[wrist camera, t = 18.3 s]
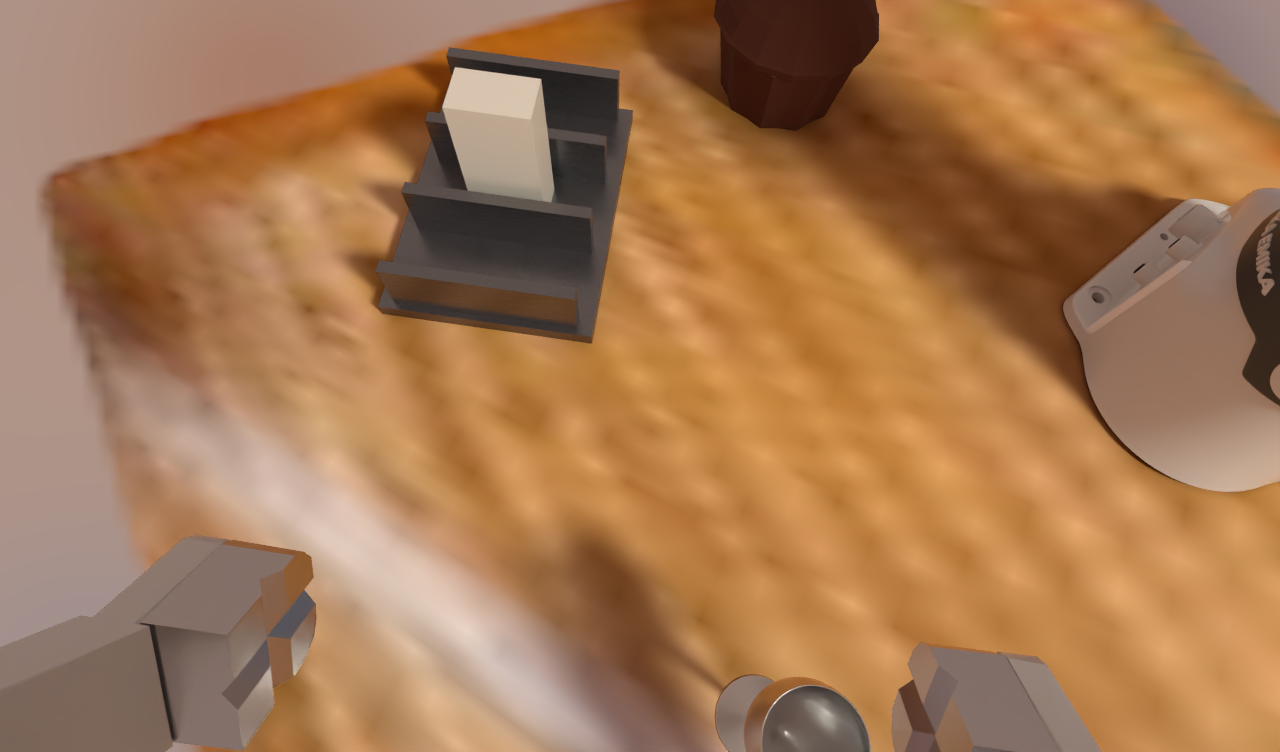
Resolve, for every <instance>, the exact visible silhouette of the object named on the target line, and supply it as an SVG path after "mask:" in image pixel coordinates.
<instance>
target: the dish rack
mask: <svg viewBox="0 0 1280 752" xmlns="http://www.w3.org/2000/svg"><path fill="white" fill-rule="evenodd" d="M446 56H447V60H448V64H449V67H450V71H451V75H453V72H454V69H455V67H457V68H464V69H472V70H479V71H486V72H494V73H501V74H508V75H516V76H523V77H530V78H537V79H541V82H542V90H543V98H544V107H545V115H546V124H547V132H548V140H549V149H550V157H551V165H552V174H553V182H554V192H553V197H552V201H551V202H544V201H537V200H530V199H523V198H516V197H509V196H501V195H494V194H487V193H480V192H473V191H468V190H467V187H466V183H465V180H464V177H463V174H462V170H461V167H460V164H459V160H458V157H457V154H456V151H455V147H454V144H453V141H452V138H451V134H450V131H449V128H448V125H447V121H446V118H445V115H444V112H443V108H441V111H440V113H435V112H428V113H427V116H426V119H425V122H426V125H427V128H428V131H429V134H430V137H431V143H430V146H429V149H428V152H427V155H426V158H425V161H424V164H423V168H422V171H421V174H420V177H419V180H418V183H417V184H415V183H408V182H405V183H404V186H403V189H402V195H403V197H404V199H405V201H406V203H407V206H408V208H409V211H408V215H407V218H406V221H405V224H404V227H403V230H402V233H401V236H400V240H399V243H398V246H397V249H396V252H395V255H394V258H393V261H392V262H389V261H382V260H379V262H378V265H377V268H376V273H377V275H378V276H379V278H380V280H381V281H382V283H383V285H384V290H383V293H382V296H381V299H380V302H379V305H378V307H379V309H380V310H381V312H382V313H383V314H389V315H396V316H403V317H410V318H417V319H424V320H431V321H438V322H445V323H452V324H459V325H466V326H473V327H480V328H487V329H494V330H501V331H508V332H515V333H522V334H529V335H536V336H543V337H550V338H557V339H565V340H572V341H579V342H586V343H592V340H593V335H594V329H595V324H596V318H597V312H598V307H599V301H600V296H601V290H602V285H603V279H604V274H605V268H606V263H607V257H608V252H609V246H610V241H611V235H612V230H613V224H614V219H615V213H616V208H617V202H618V197H619V191H620V186H621V180H622V175H623V169H624V164H625V158H626V153H627V147H628V142H629V136H630V131H631V125H632V118H633V110H626V109H619V71H618V70H611V69H604V68H596V67H589V66H582V65H574V64H567V63H560V62H552V61H545V60H538V59H530V58H523V57H516V56H508V55H501V54H494V53H486V52H479V51H472V50H464V49H457V48H450V47H449V49H448V52H447V55H446ZM448 88H449V86H448ZM447 91H448V89H447ZM446 94H447V93H446ZM445 97H446V96H445ZM444 100H445V99H444ZM443 103H444V102H443ZM442 107H443V105H442Z"/></svg>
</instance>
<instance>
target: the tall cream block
mask: <svg viewBox="0 0 1280 752" xmlns="http://www.w3.org/2000/svg"><path fill="white" fill-rule="evenodd" d="M442 108H443V112H444V115H445V118H446V121H447V125H448V128H449V131H450V134H451V138H452V141H453V144H454V147H455V151H456V154H457V157H458V160H459V164H460V167H461V170H462V174H463V177H464V180H465V183H466V187H467V190H468V191H473V192H480V193H487V194H494V195H501V196H509V197H516V198H523V199H530V200H537V201H544V202H551V201H552V197H553V192H554V182H553V174H552V165H551V157H550V149H549V140H548V132H547V124H546V115H545V107H544V98H543V90H542V82H541V79H537V78H530V77H523V76H516V75H508V74H501V73H494V72H486V71H479V70H472V69H464V68H457V67H455V69H454V72H453V75H452V78H451V81H450V85H449V88H448V91H447V94H446V97H445V100H444V103H443V107H442Z"/></svg>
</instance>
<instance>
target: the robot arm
mask: <svg viewBox="0 0 1280 752" xmlns="http://www.w3.org/2000/svg"><path fill="white" fill-rule="evenodd" d="M1092 298H1094V299H1095V300H1096V301H1097V303H1096V302H1095V301H1094V300H1093V299H1092ZM1063 312H1064V315H1065V318H1066V320H1067V322H1068V324H1069V326H1070V328H1071V329H1072V331H1073V333H1074V335H1075V336H1076V338H1077V340H1078V341H1079V343H1080V346H1081V350H1082V354H1083V361H1084V369H1085V375H1086V380H1087V383H1088V387H1089V389H1090V392H1091V395H1092V397H1093V400H1094V402H1095V404H1096V406H1097V408H1098V410H1099V412H1100V413H1101V415H1102V416H1103V418H1104V420H1105V421H1106V422H1107V424H1108V425H1109V427H1110V428H1111V429H1112V431H1113V432H1114V433H1115V434H1116V435H1117V437H1118V438H1119V439H1120V440H1121V441H1122V442H1123V443H1124V444H1125V445H1126V446H1127V447H1128V448H1129V449H1130V450H1131V451H1132V452H1134V453H1135V454H1136V455H1137V456H1138V457H1140V458H1141V459H1142V460H1144V461H1145V462H1146V463H1148V464H1149V465H1151V466H1152V467H1154V468H1155V469H1157V470H1158V471H1160V472H1162V473H1164V474H1166V475H1168V476H1169V477H1171V478H1174V479H1176V480H1178V481H1180V482H1183V483H1186V484H1188V485H1192V486H1195V487H1198V488H1203V489H1207V490H1213V491H1222V492H1236V491H1245V490H1251V489H1255V488H1258V487H1261V486H1264V485H1268V484H1271V483H1275V482H1280V189H1277V188H1263V189H1257V190H1254V191H1253V192H1251V193H1249V194H1248V195H1246V196H1245V197H1243V198H1242V199H1240V200H1239V201H1237V202H1236V203H1235V204H1233V205H1232V206H1227V205H1224V204H1221V203H1217V202H1213V201H1208V200H1202V199H1188V200H1186V201H1184V202H1183V203H1181V204H1179V205H1178V206H1176V207H1175V208H1173V209H1172V210H1171V211H1170V212H1169V213H1167V214H1166V215H1165V216H1164V217H1163V218H1161V219H1160V220H1159V221H1158V222H1157V223H1156V224H1154V225H1153V226H1152V227H1151V228H1150V229H1148V230H1147V231H1146V232H1145V233H1144V234H1143V235H1141V236H1140V237H1139V238H1138V239H1137V240H1136V241H1134V242H1133V243H1132V244H1131V245H1130V246H1128V247H1127V248H1126V249H1125V250H1124V251H1123V252H1121V253H1120V254H1119V255H1118V256H1117V257H1115V258H1114V259H1113V260H1112V261H1111V262H1110V263H1108V264H1107V265H1106V266H1105V267H1104V268H1103V269H1101V270H1100V271H1099V272H1098V273H1097V274H1095V275H1094V276H1093V277H1092V278H1091V279H1090V280H1088V281H1087V282H1086V283H1085V284H1084V285H1082V286H1081V287H1080V288H1079V289H1078V290H1077V291H1075V292H1074V293H1073V294H1072V295H1071V296H1070V297H1068V298H1067V299H1066V301H1065V302H1064V305H1063ZM312 579H313V568H312V560H311V557H310V556H309V555H307V554H306V553H305V552H301V551H296V550H290V549H284V548H278V547H272V546H266V545H260V544H254V543H249V542H243V541H237V540H227V539H221V538H215V537H209V536H203V535H197V534H196V535H193V536H189V537H186V538H184V539H182V540H181V541H180V542H179V543H178V544H176V545H175V546H174V547H173V548H172V549H171V550H170V551H168V552H167V553H166V554H165V555H164V556H163V557H162V558H160V559H159V560H158V561H157V562H156V563H155V564H154V565H152V566H151V567H150V568H149V569H148V570H147V571H146V572H144V573H143V574H142V575H141V576H140V577H139V578H138V579H136V580H135V581H134V582H133V583H132V584H131V585H130V586H128V587H127V588H126V589H125V590H124V591H123V592H122V593H120V594H119V595H118V596H117V597H116V598H115V599H114V600H112V601H111V602H110V603H109V604H108V605H107V606H106V607H104V608H103V609H102V610H101V611H100V612H99V613H97V615H95V616H94V617H86V616H78V617H76V618H73V619H71V620H68V621H66V622H63V623H61V624H58V625H56V626H53V627H51V628H48V629H45V630H43V631H40V632H38V633H35V634H33V635H30V636H28V637H25V638H23V639H20V640H18V641H15V642H13V643H10V644H7V645H5V646H2V647H0V752H165V751H167V750H168V749H169V748H171V747H172V746H173V743H172V742H176V743H184V744H193V745H201V746H210V747H218V748H227V749H235V750H244V749H245V747H246V746H247V744H248V743H249V741H250V740H251V738H252V737H253V736H254V734H255V733H256V731H257V730H258V728H259V727H260V725H261V724H262V722H263V721H264V719H265V718H266V717H267V715H268V714H269V712H270V711H271V709H272V708H273V706H274V695H273V688H275V687H276V686H278V685H280V684H281V683H283V682H285V681H287V680H288V679H290V678H292V677H294V675H295V674H296V672H297V671H298V669H299V668H300V666H301V664H302V663H303V661H304V660H305V658H306V656H307V653H308V650H309V648H310V645H311V643H312V640H313V637H314V632H315V625H316V604H315V603H314V601H313V600H312V599H311V598H310V596H309V595H308V594H307V593H306V592H305V590H304V589H305V588H306V587H307V585H308V584H309V583H310V581H311V580H312ZM908 666H909V669H910V671H911V674H912V677H913V680H912V681H910V682H909V683H907V684H906V685H904V686H903V687H901V688H900V689H899V690H898V693H897V696H896V699H895V702H894V705H893V709H892V726H891V732H892V739H893V746H894V751H895V752H1102V751H1101V750H1100V748H1099V747H1098V745H1097V743H1096V742H1095V740H1094V739H1093V737H1092V736H1091V734H1090V732H1089V731H1088V729H1087V728H1086V726H1085V724H1084V723H1083V721H1082V720H1081V718H1080V717H1079V715H1078V713H1077V712H1076V710H1075V709H1074V707H1073V705H1072V704H1071V702H1070V701H1069V699H1068V698H1067V696H1066V694H1065V693H1064V691H1063V690H1062V688H1061V686H1060V685H1059V683H1058V682H1057V680H1056V679H1055V677H1054V675H1053V674H1052V672H1051V671H1050V669H1049V667H1048V666H1047V665H1046V664H1045V663H1044V662H1043V661H1042V660H1040V659H1039V658H1038V657H1035V656H1027V655H1019V654H1011V653H1003V652H996V653H994V652H990V651H983V650H976V649H968V648H961V647H954V646H947V645H940V644H932V643H925V642H920V643H919V644H918V645H917V646H916V647H915V648H914V649H913V652H912V654H911V657H910V660H909V662H908Z"/></svg>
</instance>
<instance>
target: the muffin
mask: <svg viewBox="0 0 1280 752" xmlns="http://www.w3.org/2000/svg"><path fill="white" fill-rule="evenodd" d="M714 17H715V19H716V21H717V23H718V25H719V27H720V29H721V84H722V86H723V88H724V90H725V92H726V94H727V95H728V99H729V103H730V106H731V110H733V111H735V112H737V113H739V114H741V115H743V116H744V117H746V118H748V119H749V120H750V121H752V122H753V123H754V124H756V125H757V126H758V127H759V128H781V129H788V130H795V131H796V130H798V129H799V128H801V127H802V126H804V125H806V124H807V123H809V122H811V121H814V120H816V119H818V118H821V117H823V116H824V115H825V114H826V112H827V110H828V109H829V107H830V106H831V104H832V102H833V101H834V99H835V97H836V96H837V94H838V93H839V91H840V89H841V88H842V86H843V84H844V83H845V81H846V80H847V78H848V76H849V75H850V73H851V71H852V70H853V68H854V67H856V66H857V65H859V64H860V63H862V62H863V60H864V59H865V58H866V56H867V55H868V54H869V52H870V51H871V50H872V49H873V47H874V46H875V45H876V43H877V42H878V41H879V14H878V12H877V7H876V1H875V0H716V5H715V13H714Z"/></svg>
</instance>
